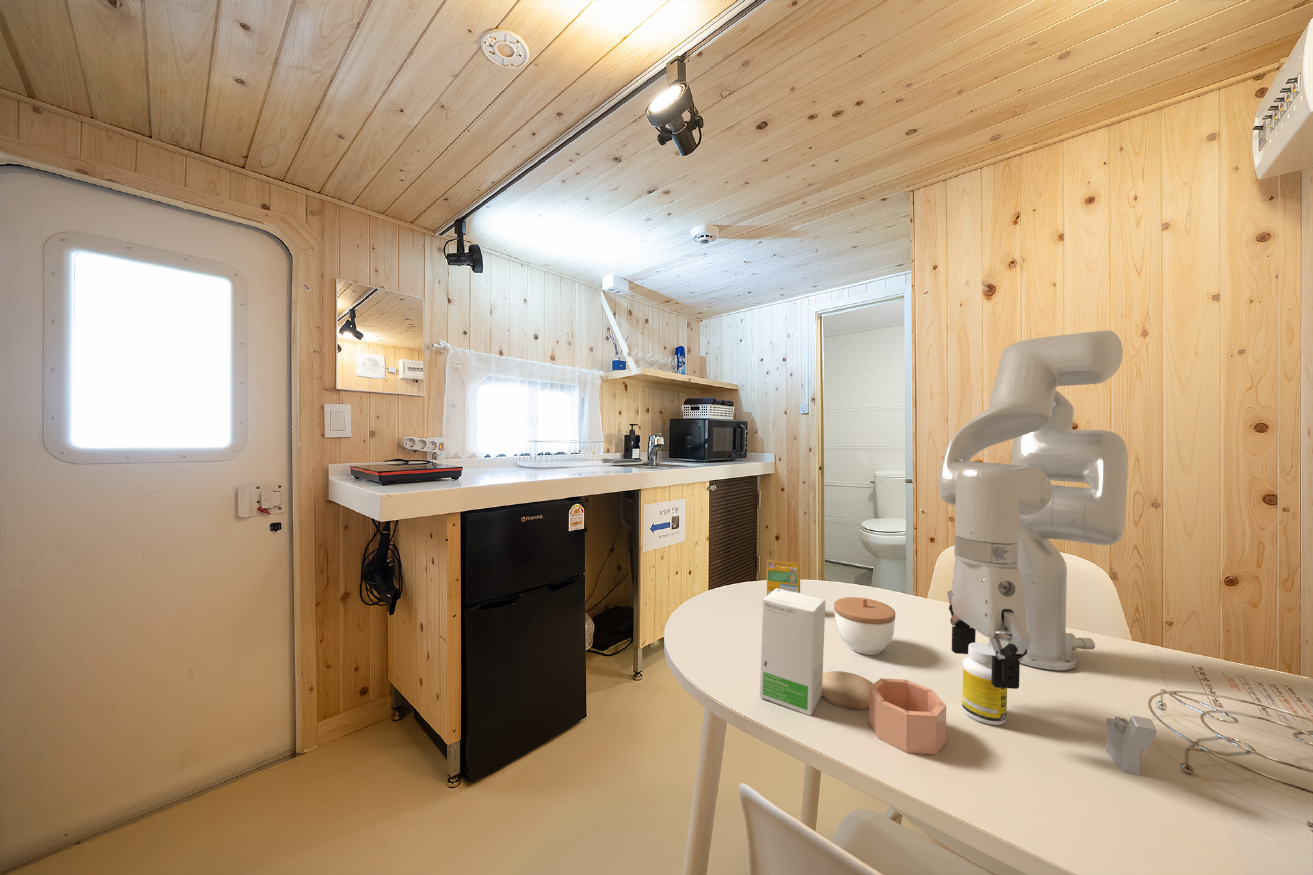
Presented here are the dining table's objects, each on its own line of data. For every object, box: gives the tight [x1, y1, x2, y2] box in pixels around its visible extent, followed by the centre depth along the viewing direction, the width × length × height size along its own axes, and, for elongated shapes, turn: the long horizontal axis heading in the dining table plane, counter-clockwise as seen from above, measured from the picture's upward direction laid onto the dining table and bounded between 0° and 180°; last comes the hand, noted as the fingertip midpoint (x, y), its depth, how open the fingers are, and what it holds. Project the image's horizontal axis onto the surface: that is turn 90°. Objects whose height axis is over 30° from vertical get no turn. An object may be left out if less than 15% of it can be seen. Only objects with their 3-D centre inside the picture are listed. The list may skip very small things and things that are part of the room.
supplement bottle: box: [960, 642, 1008, 726], centre depth 67 cm, size 5×5×10 cm
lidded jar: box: [833, 596, 896, 656], centre depth 88 cm, size 11×11×9 cm
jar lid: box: [821, 670, 874, 711], centre depth 73 cm, size 9×9×1 cm
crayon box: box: [766, 559, 801, 596], centre depth 106 cm, size 7×3×12 cm, turn 69°
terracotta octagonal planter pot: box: [868, 677, 947, 756], centre depth 63 cm, size 9×9×5 cm
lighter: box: [1105, 715, 1158, 777], centre depth 56 cm, size 7×2×8 cm, turn 156°
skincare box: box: [759, 588, 826, 716], centre depth 71 cm, size 8×7×16 cm
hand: (982, 668), depth 67 cm, fingers open, 9 cm apart
